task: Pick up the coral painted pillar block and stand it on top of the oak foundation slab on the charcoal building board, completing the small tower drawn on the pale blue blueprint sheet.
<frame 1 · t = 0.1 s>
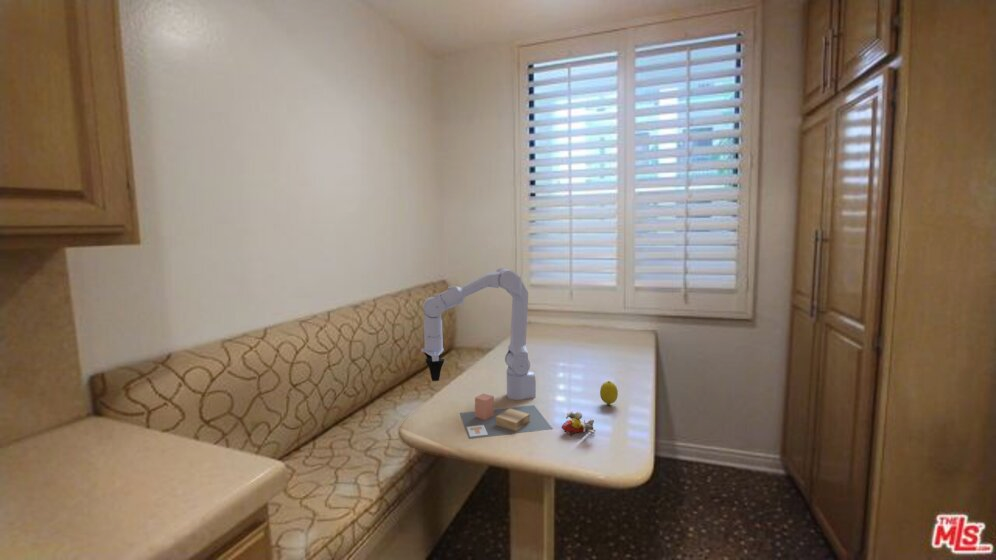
hand: (434, 376, 141), 10 cm above the table, tool pointing down, fingers open, 7 cm apart
building board: (504, 423, 129), on the table
slab: (513, 423, 127), point 1 cm above the table, touching building board
lemon: (608, 405, 142), on the table
toy airplane: (580, 434, 123), on the table
pillar: (484, 416, 133), point 1 cm above the table, touching building board
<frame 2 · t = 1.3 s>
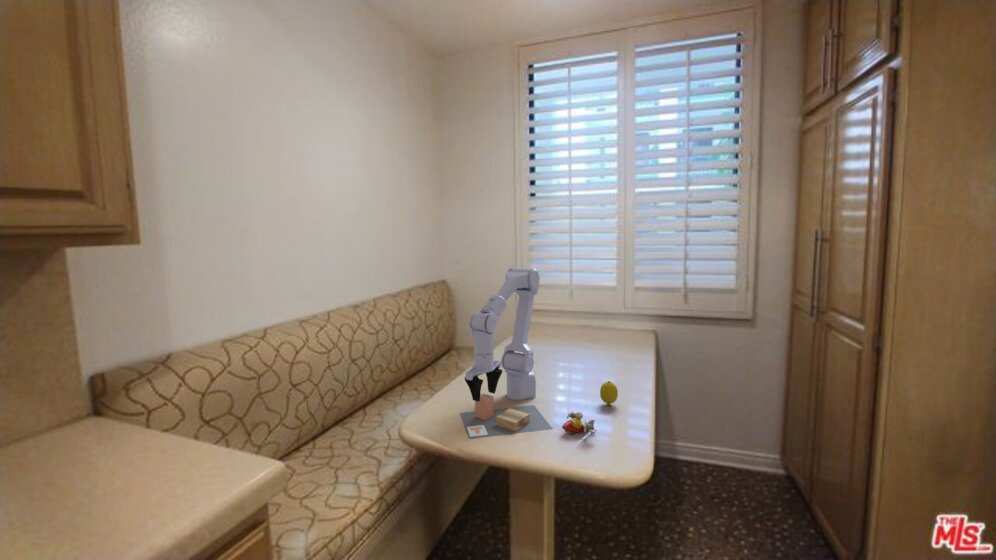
hand: (484, 396, 132), 7 cm above the table, tool pointing down, fingers open, 7 cm apart
nothing on the table moved.
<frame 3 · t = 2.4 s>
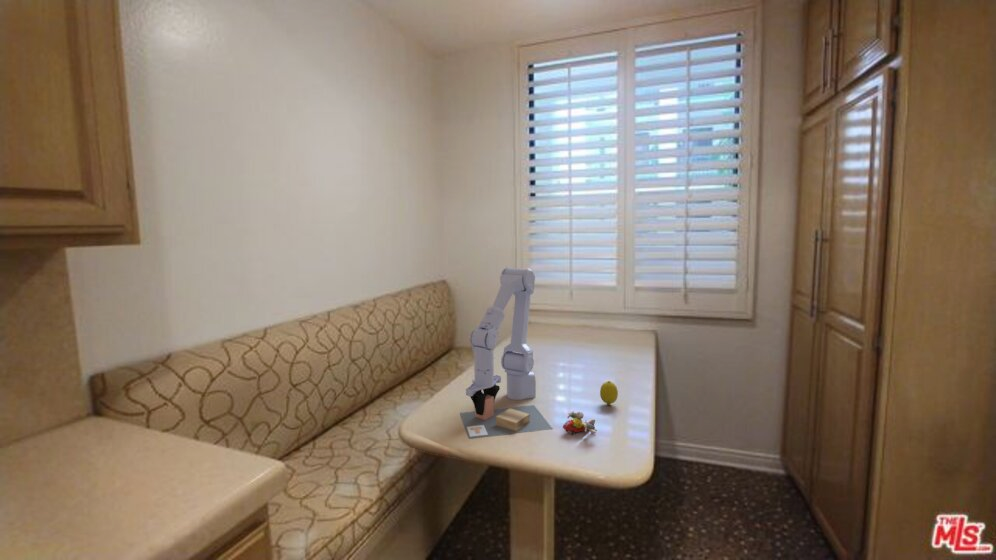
hand: (484, 411, 132), 2 cm above the table, tool pointing down, fingers closed on pillar, 4 cm apart
pillar: (484, 416, 133), point 1 cm above the table, touching building board, gripper
everything else where it was.
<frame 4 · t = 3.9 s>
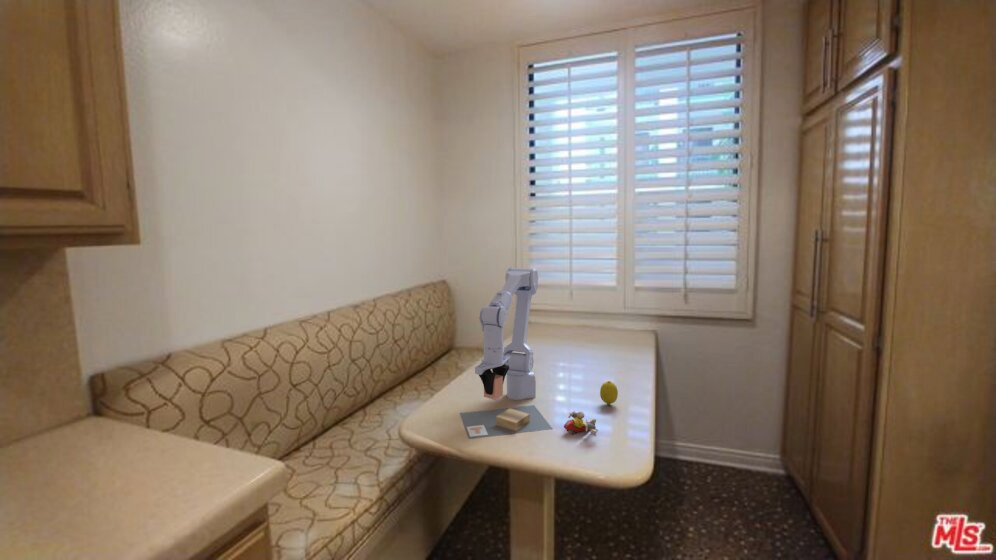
hand: (493, 391, 130), 9 cm above the table, tool pointing down, fingers closed on pillar, 4 cm apart
pillar: (493, 396, 130), point 8 cm above the table, touching gripper
everything else where it was.
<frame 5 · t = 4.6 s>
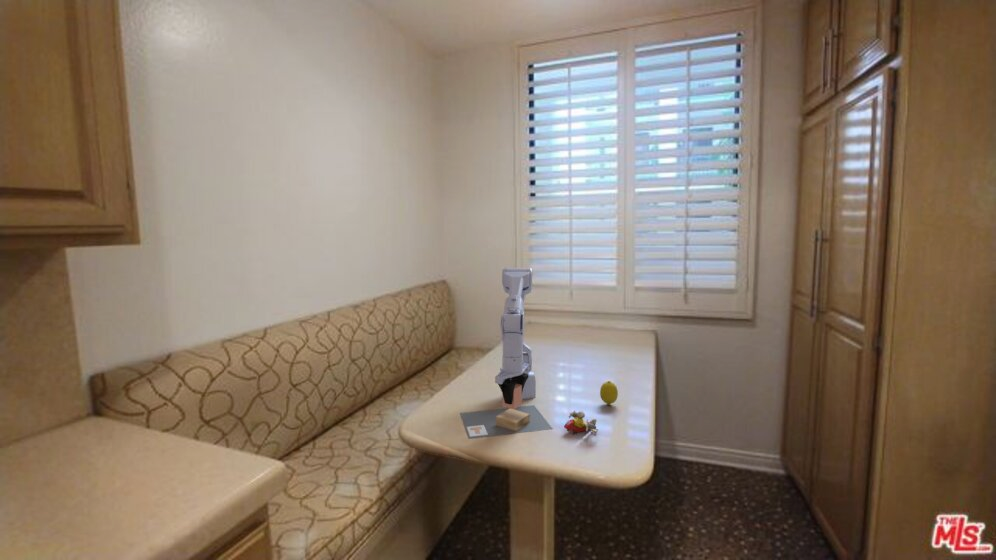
hand: (512, 400, 127), 8 cm above the table, tool pointing down, fingers closed on pillar, 4 cm apart
pillar: (512, 405, 127), point 6 cm above the table, touching gripper
everything else where it was.
when the fingers open (6 cm above the table, at t = 5.3 s): pillar drops 1 cm, resting on slab.
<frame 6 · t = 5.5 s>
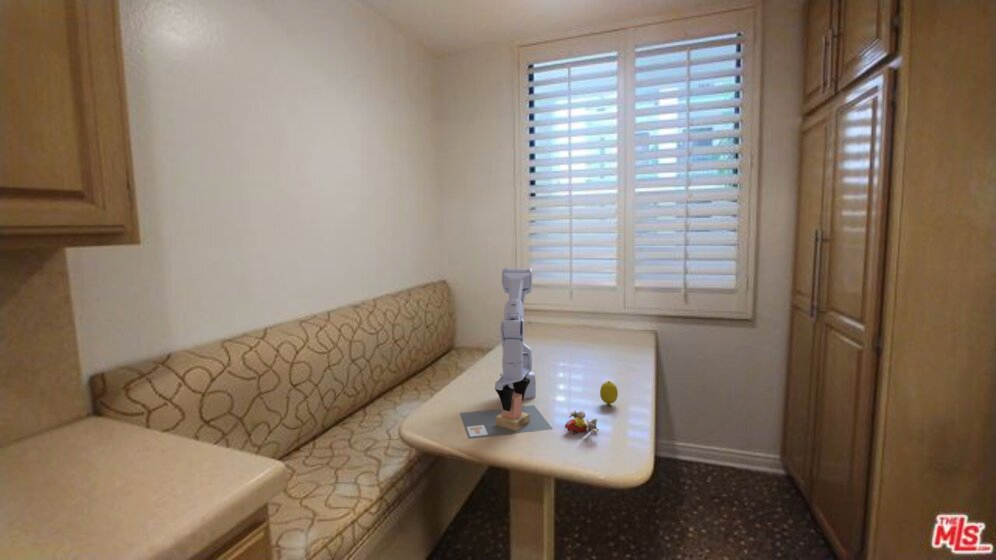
hand: (512, 406, 127), 6 cm above the table, tool pointing down, fingers open, 6 cm apart
slab: (513, 423, 127), point 1 cm above the table, touching building board, pillar
pillar: (512, 415, 127), point 3 cm above the table, touching slab
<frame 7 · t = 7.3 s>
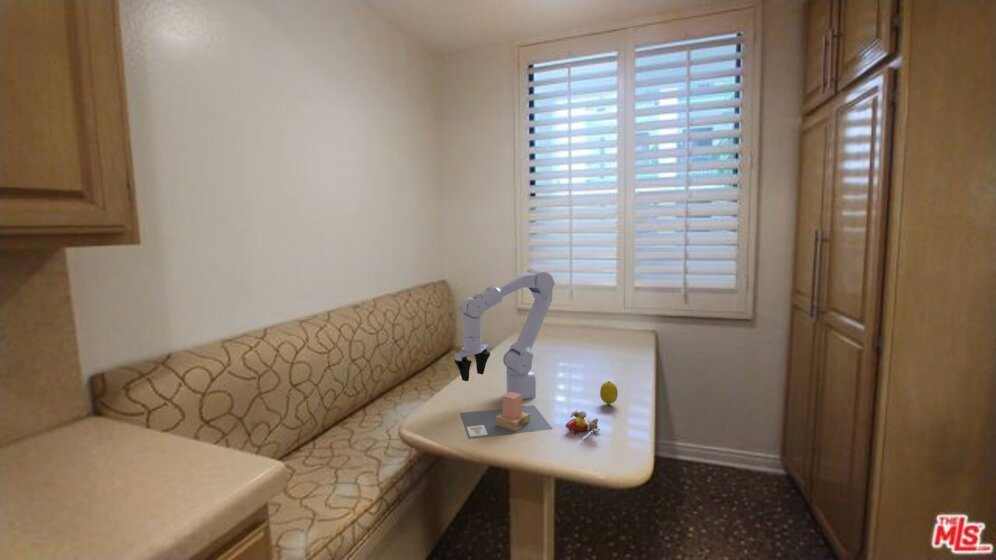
hand: (473, 377, 140), 10 cm above the table, tool pointing down, fingers open, 7 cm apart
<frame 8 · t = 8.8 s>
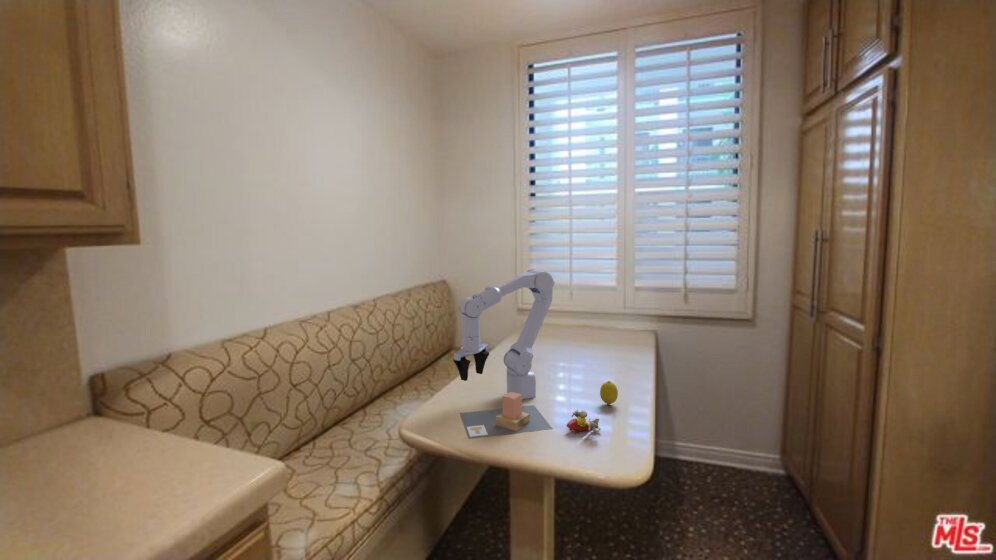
hand: (471, 376, 141), 10 cm above the table, tool pointing down, fingers open, 7 cm apart
at the end: pillar 0.2 cm off-centre on the slab, point 2.5 cm above the slab's base; pillar tilted 0°; the gripper is holding nothing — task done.
